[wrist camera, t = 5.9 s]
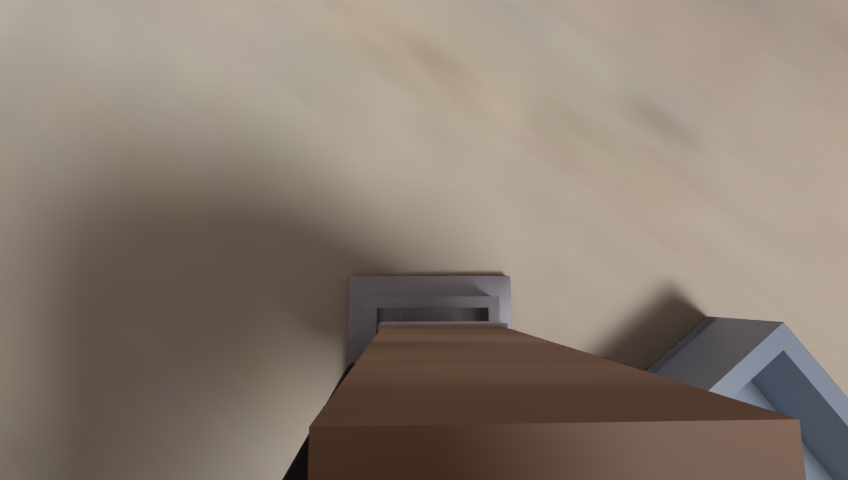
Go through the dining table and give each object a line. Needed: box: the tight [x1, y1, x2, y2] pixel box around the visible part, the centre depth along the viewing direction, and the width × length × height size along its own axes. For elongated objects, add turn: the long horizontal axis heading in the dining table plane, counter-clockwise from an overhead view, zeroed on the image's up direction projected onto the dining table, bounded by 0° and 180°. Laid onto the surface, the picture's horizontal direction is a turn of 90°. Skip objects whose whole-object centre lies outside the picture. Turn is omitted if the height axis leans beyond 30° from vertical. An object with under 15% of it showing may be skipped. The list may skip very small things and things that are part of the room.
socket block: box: [347, 276, 511, 367], centre depth 20 cm, size 8×8×3 cm
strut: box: [308, 321, 806, 480], centre depth 9 cm, size 4×4×12 cm
